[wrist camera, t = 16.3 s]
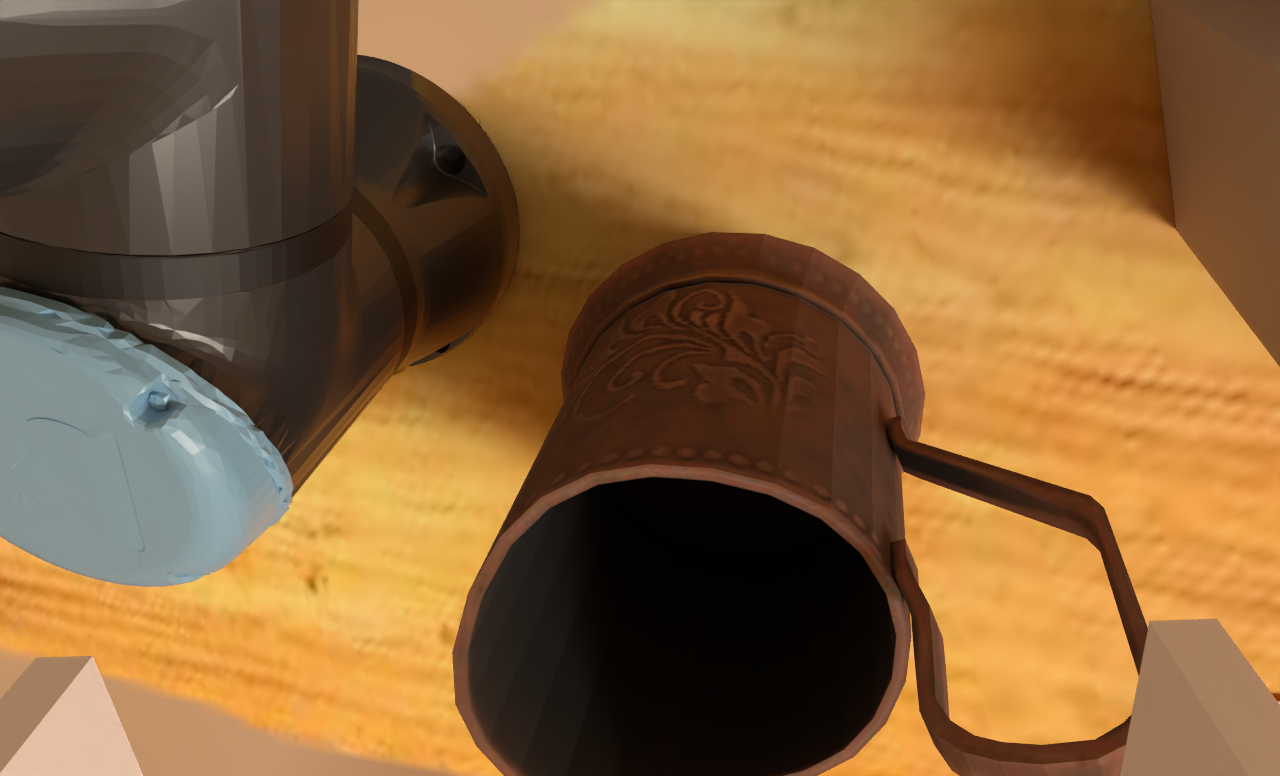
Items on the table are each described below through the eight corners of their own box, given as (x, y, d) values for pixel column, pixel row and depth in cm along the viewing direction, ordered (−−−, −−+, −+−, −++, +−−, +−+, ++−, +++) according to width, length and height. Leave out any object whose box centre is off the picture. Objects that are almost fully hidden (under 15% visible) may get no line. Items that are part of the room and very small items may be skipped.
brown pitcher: (499, 303, 50) (232, 666, 29) (980, 126, 41) (1107, 460, 20) (649, 575, 57) (524, 1026, 36) (1085, 474, 48) (1260, 991, 27)
